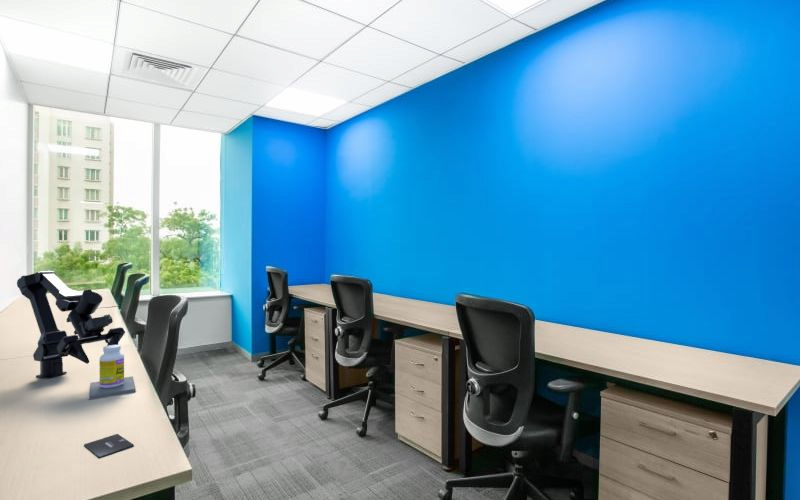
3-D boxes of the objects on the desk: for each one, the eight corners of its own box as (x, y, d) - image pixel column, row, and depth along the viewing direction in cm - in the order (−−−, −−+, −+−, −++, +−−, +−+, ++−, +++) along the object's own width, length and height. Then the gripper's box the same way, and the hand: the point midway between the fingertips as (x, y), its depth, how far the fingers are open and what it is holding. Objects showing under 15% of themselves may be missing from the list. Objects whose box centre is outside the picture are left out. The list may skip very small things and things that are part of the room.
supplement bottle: (117, 388, 134) (117, 348, 134) (95, 389, 133) (94, 349, 133) (128, 381, 141) (127, 343, 141) (106, 382, 140) (106, 344, 140)
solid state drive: (117, 436, 103) (117, 433, 103) (134, 447, 97) (134, 444, 97) (83, 447, 98) (83, 444, 98) (99, 460, 92) (99, 457, 92)
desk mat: (90, 385, 140) (90, 382, 140) (132, 379, 147) (132, 376, 147) (88, 399, 127) (88, 396, 127) (135, 391, 134) (135, 388, 134)
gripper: (61, 311, 133) (82, 350, 128) (121, 304, 150) (142, 338, 145) (47, 334, 136) (67, 372, 132) (108, 324, 153) (127, 358, 149)
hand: (103, 359), depth 139 cm, fingers open, 9 cm apart
